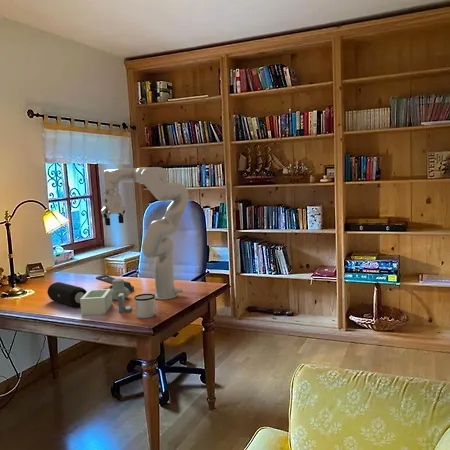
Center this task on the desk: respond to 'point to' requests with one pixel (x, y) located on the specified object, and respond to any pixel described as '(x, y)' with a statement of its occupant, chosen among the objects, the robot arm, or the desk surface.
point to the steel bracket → (122, 304)
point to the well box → (96, 302)
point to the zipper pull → (110, 279)
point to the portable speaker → (66, 293)
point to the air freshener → (119, 289)
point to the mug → (145, 305)
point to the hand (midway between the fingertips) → (114, 224)
